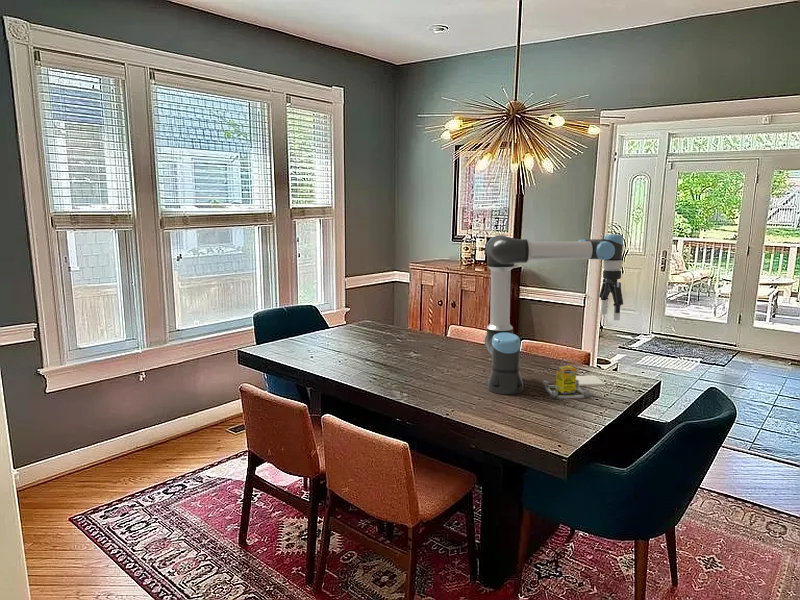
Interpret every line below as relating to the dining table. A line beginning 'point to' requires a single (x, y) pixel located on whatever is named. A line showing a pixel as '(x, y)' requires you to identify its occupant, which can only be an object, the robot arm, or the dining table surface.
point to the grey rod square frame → (555, 395)
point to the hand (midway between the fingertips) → (609, 317)
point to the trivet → (589, 381)
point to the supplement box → (565, 380)
